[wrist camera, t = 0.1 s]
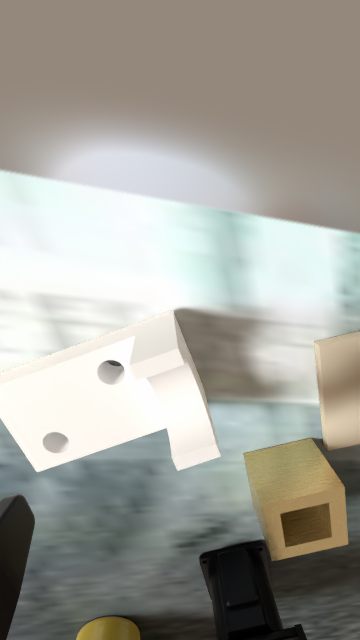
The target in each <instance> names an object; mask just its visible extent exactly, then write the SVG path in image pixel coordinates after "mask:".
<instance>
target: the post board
mask: <svg viewBox="0 0 360 640" xmlns="http://www.w3.org/2000/svg"><path fill="white" fill-rule="evenodd" d="M314 344H315V356H316V367H317V378H318V389H319V401H320V412H321V423H322V434H323V445H324V446H325V447H326V449H327V450H328V451H331V450H335V449H340V448H344V447H348V446H353V445H357V444H360V331H357V332H353V333H348V334H344V335H340V336H336V337H331V338H327V339H323V340H319V341H314Z"/></svg>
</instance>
